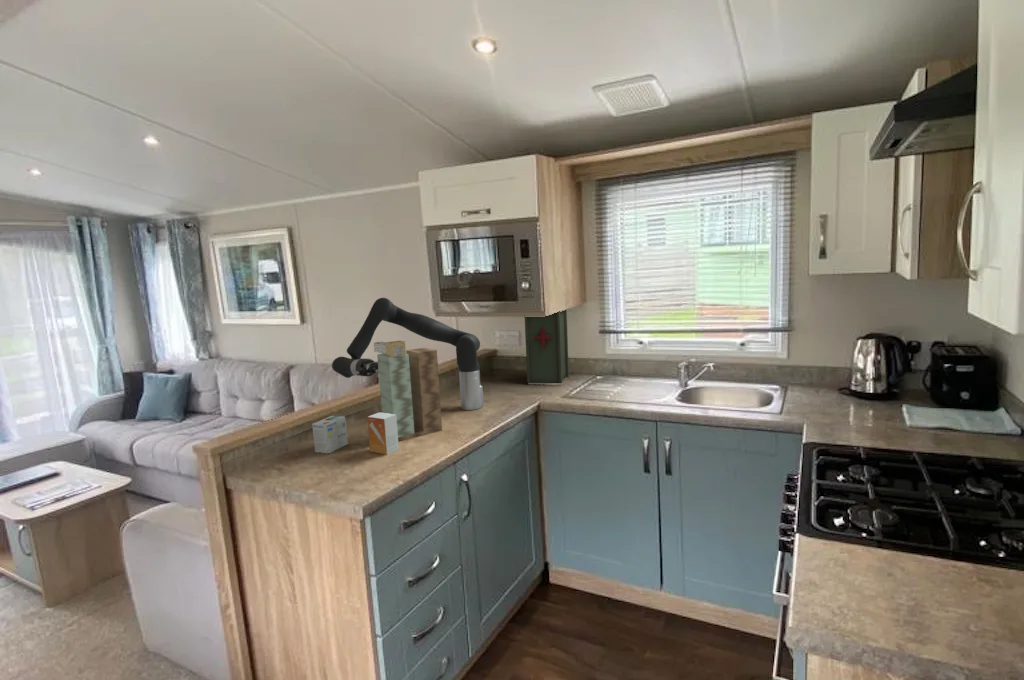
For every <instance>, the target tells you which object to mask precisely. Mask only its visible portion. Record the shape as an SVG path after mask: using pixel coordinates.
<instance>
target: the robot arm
mask: <svg viewBox="0 0 1024 680" xmlns="http://www.w3.org/2000/svg"><path fill="white" fill-rule="evenodd" d="M382 321H384V322H387V323H390V324H393V325H394V324H395V325H397V326H399V327H401V328H404V329H406V330H408V331H410V332H411V333H414V334H416V335H418V336H420V337H423V338H425V339H428V340H431V341H434V342H441V343H446V344H449V345H452V346H454V347H455V354H456V356H455V357H456V364H457V367H458V374H459V375H458V376H459V377H458V378H459V391H460V393H459V394H460V406H461V407H460V408H461V409H462V410H464V411H473V410H478V409H481V408H483V407H484V393H483V385H481V373H480V364H479V362H478V356H477V355H478V354H477V352H478V351H479V349H480V347H481V342H480V339H479V338H478V337H477V335H475V334H474V333H473V334H472V333H469V332H466V331H462V330H460V329H456V328H453V327H452V326H449V325H447V324H445V323H443V322H441V321H439V320H436V319H434V318H432V317H430V316H427V315H424V314H420V313H414V312H410V311H406V310H404V309H403V308H400V307H399V306H397V305H395V304H394V303H393V302H392V301H391V300H390V299H388V298H387V297H380V298H377V299H376V300H375V301H374V302H373V304H372V306H371V308H370V310H369V312H368V315H367V316H366V319H365V321H364V322H363V324H362V326H361V327H360V329H359V331H358V333H357V334H356V336H355V337H353V340H352V341H351V343H350V344H349V345H348V347H347V348H346V353H347V354H348V355H349V356H350V357H351V358H349V357H346V356H338V357H336V358H334V359H333V361H332V363H331V368H332V370H333V371H334V372H336V373H337V374H339V375H341V376H342V377H344V378H345V379H348V378H349V379H350V378H351V377H353V376H357V377H371V376H373V375H374V374H376V373H377V372H379V369H378V361H374V360H373V359H371V358H362V357H363V355H364V353H365V352H366V350H367V349H368V347H369V345H370V344H371V342H372V339H373V337H374V335H375V332H376V330H377V328H378V326H379V325H380V324H381V322H382Z"/></svg>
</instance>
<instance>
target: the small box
mask: <svg viewBox="0 0 1024 680" xmlns="http://www.w3.org/2000/svg"><path fill="white" fill-rule="evenodd" d="M367 427H368V441H369V451H370V452H371V453H377V454H381V455H386V456H388V455H390V454H392V453H394V452H396V451H398V450H400V448H399V441H398V433H397V420H396V414H389V413H382V411H381V412H376V413H374V414H371V415H369V416H367Z"/></svg>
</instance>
